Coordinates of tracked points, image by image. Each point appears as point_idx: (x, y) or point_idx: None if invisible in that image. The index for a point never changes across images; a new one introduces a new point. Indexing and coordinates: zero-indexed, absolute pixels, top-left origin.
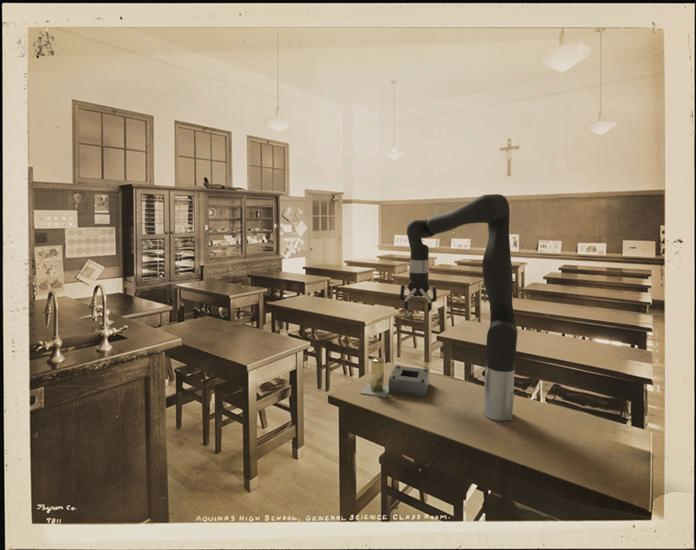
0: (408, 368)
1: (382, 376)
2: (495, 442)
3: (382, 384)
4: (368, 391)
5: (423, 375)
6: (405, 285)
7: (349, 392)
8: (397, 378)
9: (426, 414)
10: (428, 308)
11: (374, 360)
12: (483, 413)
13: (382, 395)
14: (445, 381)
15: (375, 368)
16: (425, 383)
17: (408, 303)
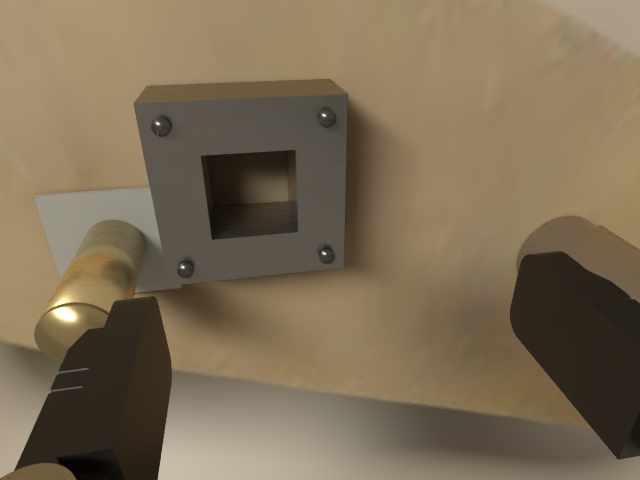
0: (226, 122)
1: (134, 292)
2: (510, 381)
3: (141, 268)
4: None
5: (323, 192)
6: None
7: (13, 297)
8: (209, 273)
9: (344, 332)
10: (556, 368)
11: (66, 351)
12: (517, 268)
13: (163, 286)
14: (409, 8)
15: None
16: (341, 266)
17: (135, 416)
